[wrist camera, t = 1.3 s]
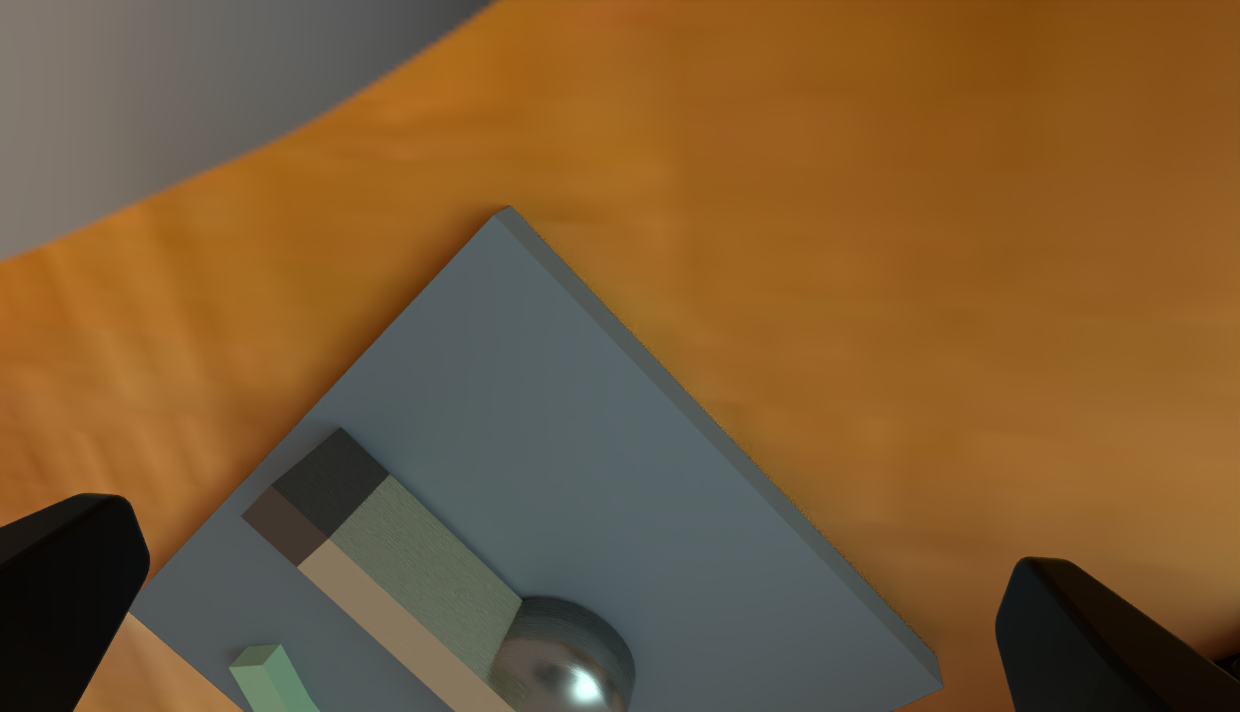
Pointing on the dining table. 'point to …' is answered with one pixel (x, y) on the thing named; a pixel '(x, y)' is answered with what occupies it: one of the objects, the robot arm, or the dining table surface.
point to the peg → (436, 593)
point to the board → (546, 517)
